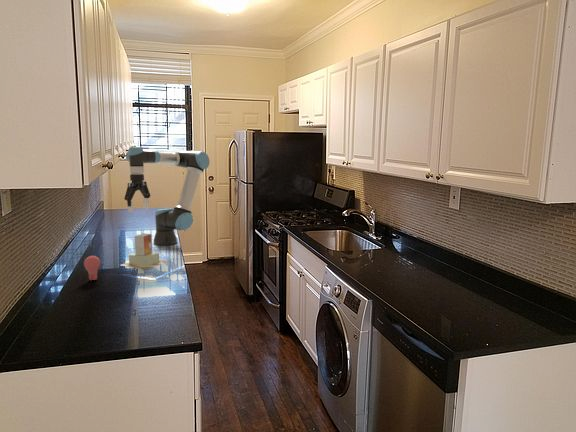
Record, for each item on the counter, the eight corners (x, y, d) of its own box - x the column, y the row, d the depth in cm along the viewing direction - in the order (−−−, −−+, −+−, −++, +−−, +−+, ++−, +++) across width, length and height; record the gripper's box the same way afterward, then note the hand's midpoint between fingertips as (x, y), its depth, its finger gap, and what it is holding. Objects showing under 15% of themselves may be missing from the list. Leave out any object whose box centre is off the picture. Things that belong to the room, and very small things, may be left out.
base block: (141, 259, 243) (140, 250, 242) (159, 261, 239) (159, 252, 239) (129, 264, 234) (128, 254, 233) (148, 266, 230) (147, 256, 229)
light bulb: (94, 277, 213) (93, 253, 211) (104, 279, 210) (103, 255, 208) (81, 281, 207) (80, 256, 205) (91, 283, 204) (90, 258, 202)
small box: (144, 255, 231) (143, 236, 230) (134, 255, 233) (134, 235, 231) (152, 252, 239) (151, 233, 237) (143, 251, 240) (142, 233, 239)
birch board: (141, 259, 248) (141, 257, 248) (168, 262, 242) (168, 260, 242) (119, 267, 231) (119, 265, 231) (148, 270, 225) (148, 268, 225)
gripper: (145, 172, 263) (146, 207, 267) (116, 174, 240) (118, 212, 243) (155, 173, 261) (156, 208, 264) (127, 175, 238) (129, 213, 241)
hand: (138, 210), depth 254 cm, fingers open, 13 cm apart
